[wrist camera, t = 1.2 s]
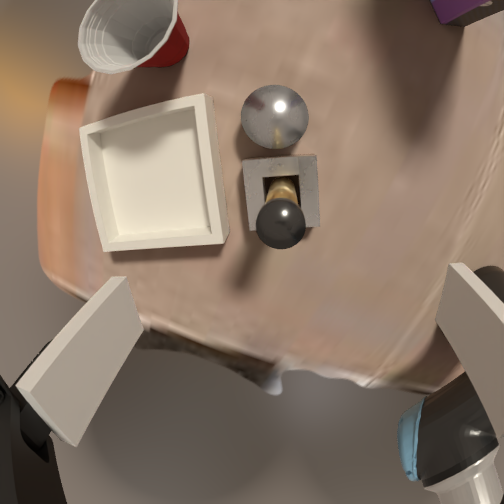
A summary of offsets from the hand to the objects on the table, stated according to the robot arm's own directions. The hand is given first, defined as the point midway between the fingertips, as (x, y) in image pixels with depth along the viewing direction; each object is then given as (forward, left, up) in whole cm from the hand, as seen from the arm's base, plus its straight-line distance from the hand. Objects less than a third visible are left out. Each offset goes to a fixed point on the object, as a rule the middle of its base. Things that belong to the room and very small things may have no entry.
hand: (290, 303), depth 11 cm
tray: (+3, +16, -25) cm, 30 cm away
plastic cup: (+20, +13, -25) cm, 34 cm away
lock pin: (0, +1, -25) cm, 25 cm away
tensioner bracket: (+4, +1, -25) cm, 25 cm away
